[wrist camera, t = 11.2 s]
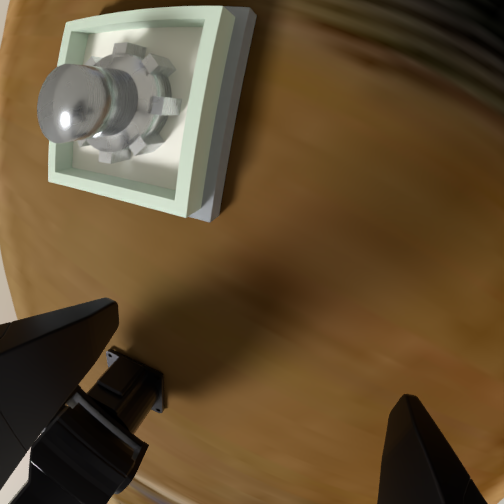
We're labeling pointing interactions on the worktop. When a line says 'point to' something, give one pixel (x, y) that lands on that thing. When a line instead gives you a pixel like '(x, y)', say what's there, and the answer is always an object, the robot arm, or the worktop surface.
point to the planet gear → (110, 103)
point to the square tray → (177, 126)
